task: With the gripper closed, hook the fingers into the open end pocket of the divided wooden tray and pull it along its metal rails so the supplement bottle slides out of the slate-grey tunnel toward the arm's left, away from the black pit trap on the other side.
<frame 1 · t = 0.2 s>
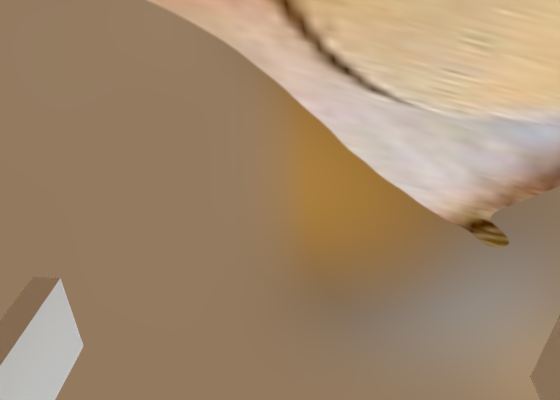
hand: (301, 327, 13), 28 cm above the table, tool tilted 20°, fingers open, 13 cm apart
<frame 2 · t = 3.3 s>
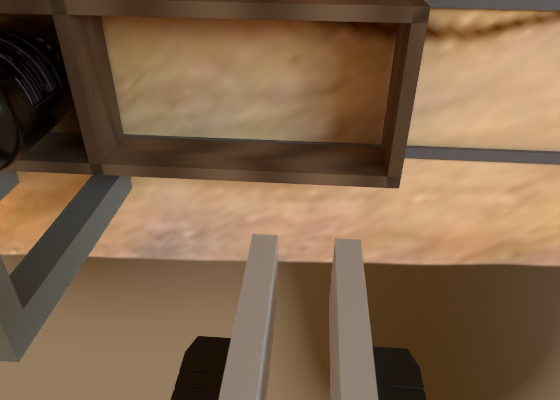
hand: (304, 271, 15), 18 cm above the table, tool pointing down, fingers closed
tunnel: (36, 69, 31), on the table
supplement bottle: (38, 68, 31), resting in divided wooden tray
divided wooden tray: (164, 86, 28), point 2 cm above the table, slide at 0.0 cm
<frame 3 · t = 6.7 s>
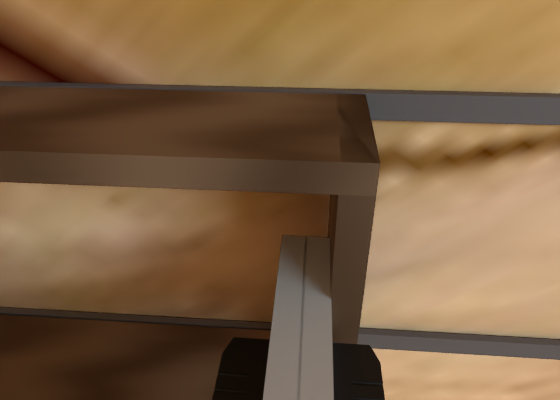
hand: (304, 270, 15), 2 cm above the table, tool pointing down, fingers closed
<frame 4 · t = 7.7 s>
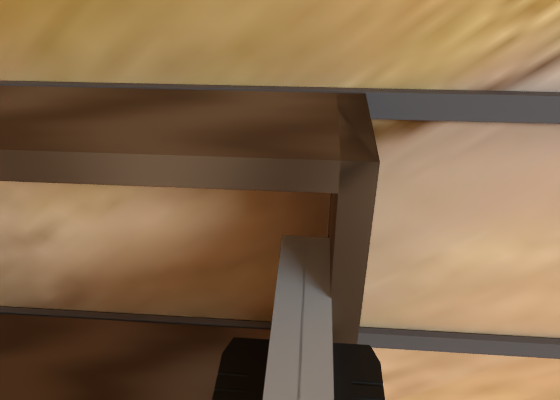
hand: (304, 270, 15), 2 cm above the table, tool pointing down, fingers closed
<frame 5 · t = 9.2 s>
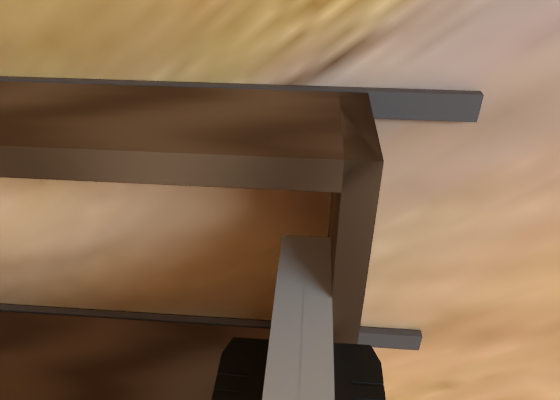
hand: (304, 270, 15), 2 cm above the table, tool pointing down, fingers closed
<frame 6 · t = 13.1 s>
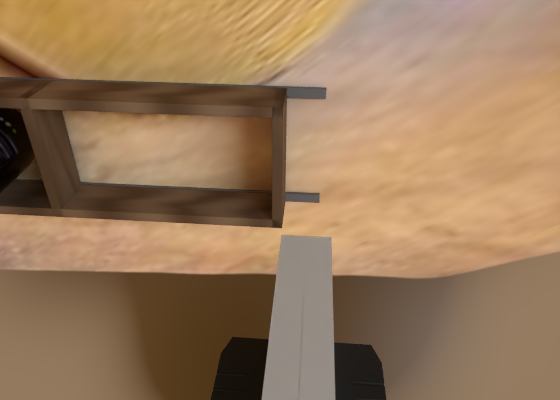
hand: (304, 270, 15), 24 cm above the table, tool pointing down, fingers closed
supplement bottle: (3, 134, 41), resting in divided wooden tray
divided wooden tray: (106, 152, 38), point 2 cm above the table, slide at 12.8 cm
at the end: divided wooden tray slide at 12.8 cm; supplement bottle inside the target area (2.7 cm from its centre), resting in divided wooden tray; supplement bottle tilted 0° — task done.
